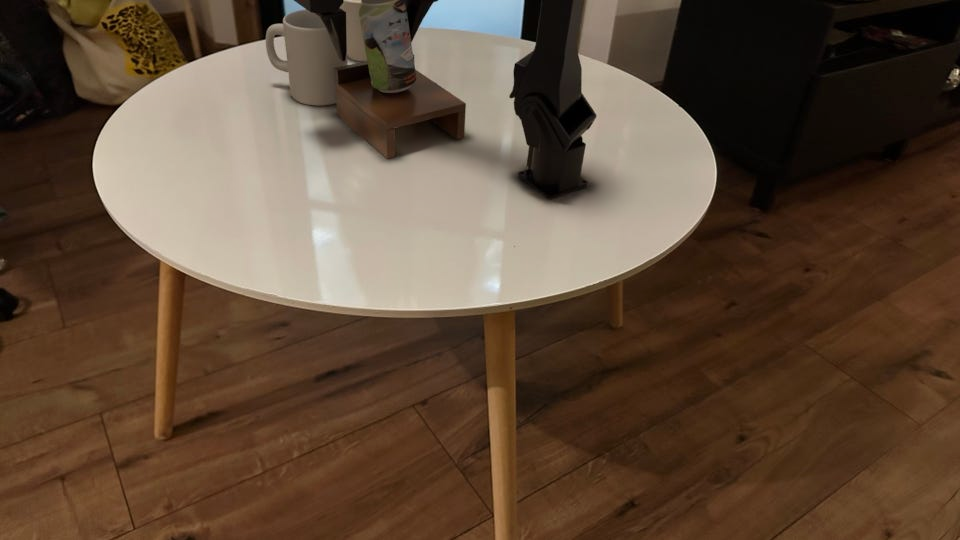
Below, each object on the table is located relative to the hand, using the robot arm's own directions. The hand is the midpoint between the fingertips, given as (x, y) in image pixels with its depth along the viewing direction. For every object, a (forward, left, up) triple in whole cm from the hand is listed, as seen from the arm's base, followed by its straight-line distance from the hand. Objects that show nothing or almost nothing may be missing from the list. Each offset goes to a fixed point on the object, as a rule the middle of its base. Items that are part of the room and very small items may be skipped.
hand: (374, 53), depth 90 cm
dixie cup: (+23, -10, -10) cm, 27 cm away
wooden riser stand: (-2, -2, -10) cm, 10 cm away
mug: (+14, +4, -10) cm, 18 cm away
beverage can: (0, -2, -5) cm, 6 cm away
